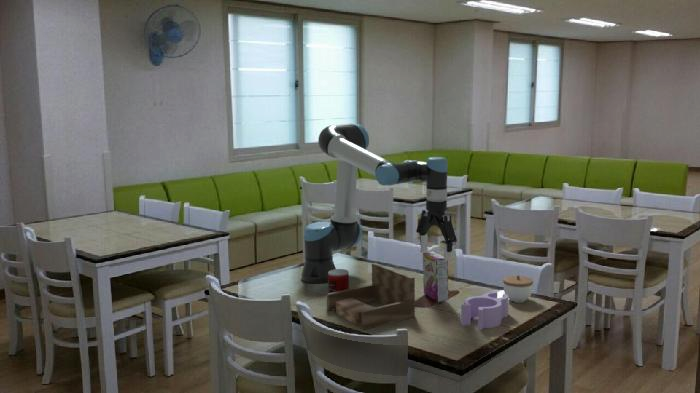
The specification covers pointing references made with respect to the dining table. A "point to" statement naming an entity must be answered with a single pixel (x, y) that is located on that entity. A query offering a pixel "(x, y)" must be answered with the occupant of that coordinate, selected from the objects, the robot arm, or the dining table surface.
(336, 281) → the canned food
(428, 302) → the wooden tablet
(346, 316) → the offcut lower
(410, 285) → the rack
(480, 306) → the clip
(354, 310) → the offcut upper
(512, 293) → the lidded jar
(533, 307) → the dining table surface
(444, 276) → the candy bar box
